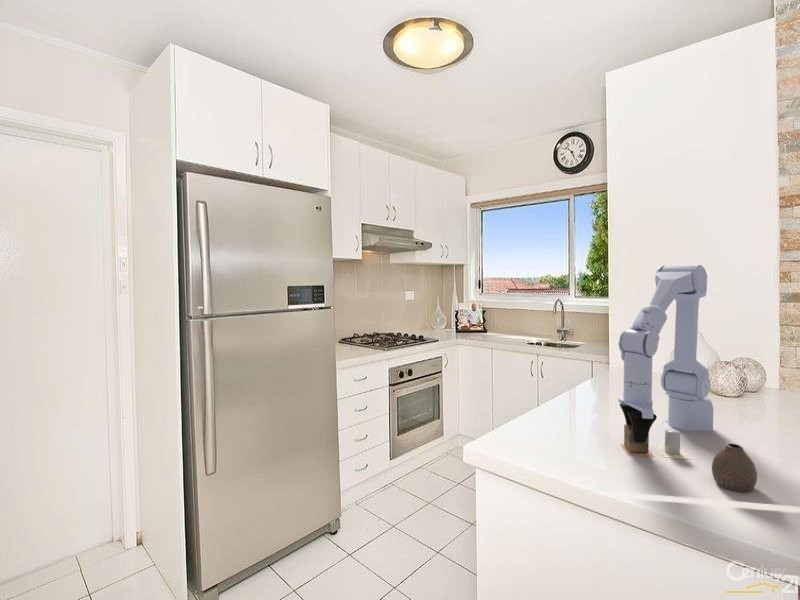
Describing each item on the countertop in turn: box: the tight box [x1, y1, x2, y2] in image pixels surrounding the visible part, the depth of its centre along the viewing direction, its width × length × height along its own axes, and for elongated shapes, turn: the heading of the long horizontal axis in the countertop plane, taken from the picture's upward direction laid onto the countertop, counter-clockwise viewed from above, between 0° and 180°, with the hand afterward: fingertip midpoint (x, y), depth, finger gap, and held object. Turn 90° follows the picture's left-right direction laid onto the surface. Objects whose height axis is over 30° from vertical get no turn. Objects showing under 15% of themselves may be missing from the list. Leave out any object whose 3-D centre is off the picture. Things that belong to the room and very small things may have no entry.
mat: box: [619, 443, 692, 460], centre depth 98 cm, size 13×8×1 cm, turn 77°
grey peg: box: [664, 428, 682, 455], centre depth 96 cm, size 3×3×5 cm
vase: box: [711, 443, 758, 494], centre depth 82 cm, size 7×7×9 cm
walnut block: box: [623, 424, 650, 453], centre depth 98 cm, size 4×4×5 cm
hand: (636, 438), depth 98 cm, fingers closed on walnut block, 4 cm apart
